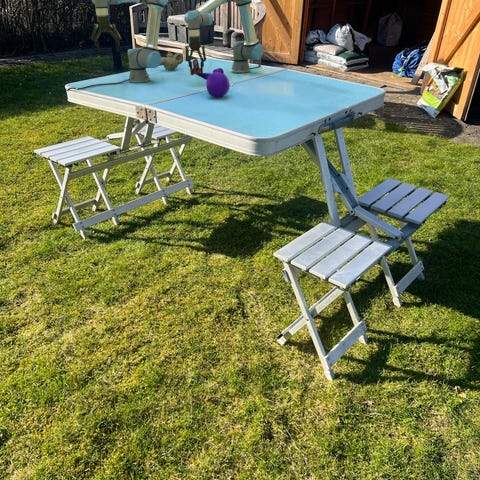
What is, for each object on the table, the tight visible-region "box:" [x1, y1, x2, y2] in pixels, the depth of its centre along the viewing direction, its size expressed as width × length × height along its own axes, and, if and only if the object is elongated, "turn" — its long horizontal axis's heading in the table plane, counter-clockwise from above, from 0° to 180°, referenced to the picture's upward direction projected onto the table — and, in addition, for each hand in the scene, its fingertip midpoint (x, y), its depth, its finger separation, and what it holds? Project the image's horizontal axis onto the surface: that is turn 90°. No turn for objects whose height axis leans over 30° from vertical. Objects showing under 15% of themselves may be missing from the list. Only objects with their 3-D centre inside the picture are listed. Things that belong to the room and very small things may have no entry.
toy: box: [194, 67, 230, 99], centre depth 289 cm, size 16×18×27 cm
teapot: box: [160, 50, 184, 71], centre depth 373 cm, size 21×12×15 cm, turn 120°
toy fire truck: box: [189, 58, 204, 76], centre depth 315 cm, size 7×12×10 cm, turn 171°
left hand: (108, 51), depth 295 cm, fingers open, 13 cm apart
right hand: (196, 71), depth 317 cm, fingers closed on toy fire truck, 7 cm apart
